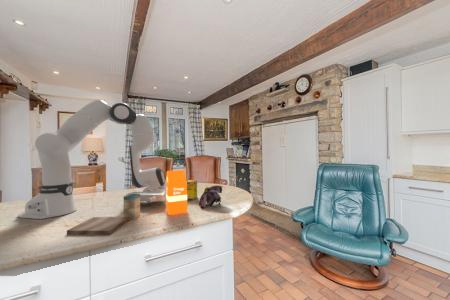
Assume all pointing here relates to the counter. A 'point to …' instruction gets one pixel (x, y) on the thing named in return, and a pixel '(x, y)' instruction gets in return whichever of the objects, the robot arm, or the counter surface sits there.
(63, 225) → the counter surface
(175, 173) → the orange juice
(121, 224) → the chopping board
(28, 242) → the counter surface
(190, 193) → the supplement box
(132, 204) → the beech block
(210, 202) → the decorative flower
